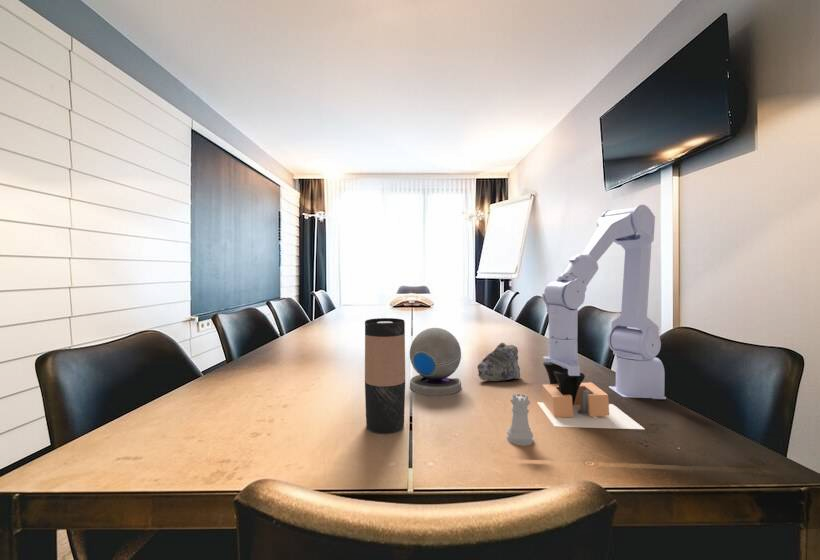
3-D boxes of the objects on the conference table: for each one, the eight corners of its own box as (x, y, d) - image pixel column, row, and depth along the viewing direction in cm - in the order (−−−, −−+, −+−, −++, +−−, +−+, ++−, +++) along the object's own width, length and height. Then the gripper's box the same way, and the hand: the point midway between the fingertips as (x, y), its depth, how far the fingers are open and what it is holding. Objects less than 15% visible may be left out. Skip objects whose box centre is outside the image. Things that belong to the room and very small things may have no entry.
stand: (612, 406, 81) (612, 383, 81) (645, 431, 68) (645, 404, 68) (536, 404, 83) (537, 381, 82) (554, 429, 70) (554, 402, 70)
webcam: (469, 384, 97) (469, 326, 97) (446, 398, 87) (446, 333, 86) (425, 377, 104) (425, 323, 104) (399, 389, 93) (399, 329, 93)
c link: (609, 415, 73) (608, 394, 73) (554, 417, 74) (553, 397, 74) (592, 400, 81) (591, 382, 81) (543, 402, 82) (542, 384, 82)
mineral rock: (479, 385, 96) (479, 346, 96) (470, 374, 107) (470, 339, 107) (528, 385, 97) (528, 346, 97) (515, 373, 108) (515, 339, 108)
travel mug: (410, 420, 74) (410, 318, 73) (396, 437, 66) (396, 324, 66) (375, 416, 76) (374, 317, 76) (357, 431, 69) (357, 322, 68)
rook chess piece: (535, 449, 62) (535, 401, 61) (507, 447, 63) (507, 399, 62) (532, 437, 66) (532, 392, 66) (505, 435, 67) (506, 390, 67)
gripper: (535, 331, 88) (535, 389, 88) (553, 343, 74) (553, 412, 74) (566, 332, 87) (565, 390, 88) (591, 343, 73) (590, 413, 73)
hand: (562, 400), depth 81 cm, fingers open, 6 cm apart
